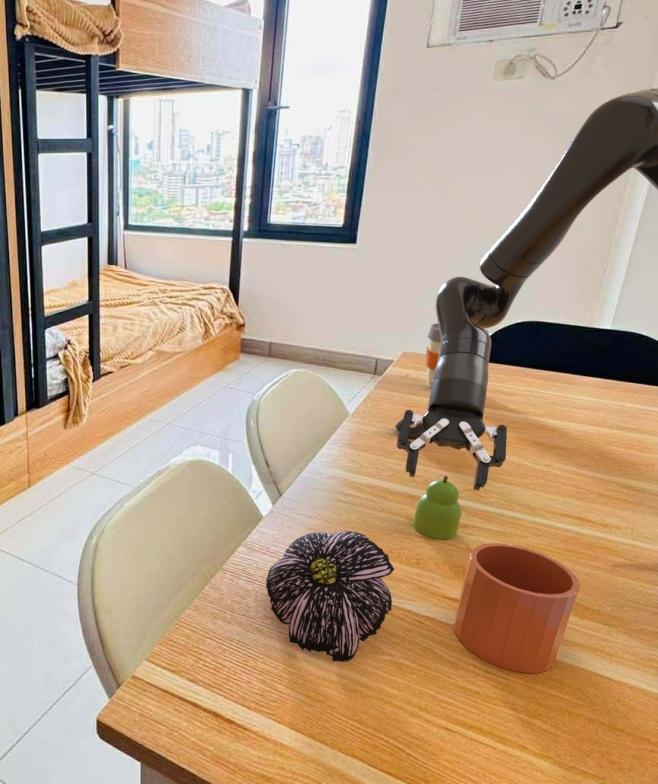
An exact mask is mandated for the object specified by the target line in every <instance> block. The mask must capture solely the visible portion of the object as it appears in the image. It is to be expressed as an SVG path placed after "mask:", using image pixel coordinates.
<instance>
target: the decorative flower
mask: <svg viewBox="0 0 658 784" xmlns="http://www.w3.org/2000/svg"><path fill="white" fill-rule="evenodd" d="M394 571H395V568H394V566H393V564H392V562H390V559H389V554H387V553H385V551H384V550H383V548H381V547H379V546H378V545H377V544H376V543H375V542H373V540H370V538H368V537H367V535H366V534H363V533H361V532H357V531H351V530H340V531H336V532H333V533H331V532H323V531H319V532H310V533H307V534H305V535H302V536H300V537H298V538H296V539H295V540H294V541H293V542H292V543H290V545H289V546H288V547H287V548H286V550H285V551H284V553H283V555H282V558H281V559H279V560H278V561H276V562H274V564H273V565H271V567H270V568H269V570H268V573H267V577H266V579H265V583H266V586H265V589H266V591H267V595H268V597H269V602H270V605H271V607H270V610H271V612H272V613H273V614H274V616H275V617H276V619H278V621H279V623H282V624H283V625H286V626H287V625H288V639H289V643H292V644H296V645H297V646H298V647H299V649H301V651H303V652H304V649H305V650H307V651H308V652H309V653H311V652H312V651H314V652H317V653H323V652H324V653H326V654H325V655H327V656H330V657H331V662H342V663H343V662H344V663H345V662H350V661H352V659H353V658H354V657H355V656H356V654H357V652H358V648H359V645H360V641H361V642H365V640H367V639H368V638H369V637H370V636H374V635H377V631H379V630H380V629H381V628H382V624H383V623H384V621H385V619H386V615H388V614H389V612H392V607H393V600H392V595H391V591H390V589H389V587H388V585H387V584H386V582H385V581H384V580H383V579H382V578H384V577H387V576H389V575H391V574H392V573H393V572H394Z"/></svg>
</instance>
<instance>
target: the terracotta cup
mask: <svg viewBox="0 0 658 784" xmlns="http://www.w3.org/2000/svg"><path fill="white" fill-rule="evenodd" d="M580 588H581V585H580V581H579V578H578V577H577V576H576V575H575V573H573V571H572V570H571V569H570V568H569V567H567V566H566V565H564V564H562V563H561V562H560V561H558V560H556V559H555V558H553V557H551V556H549V555H546V554H544V553H542V552H539V551H536V550H534V549H531V548H527V547H524V546H519V545H515V544H510V543H500V542H489V543H483V544H479V545H477V546H475V547H473V549H472V550H471V551H470V554H469V558H468V562H467V566H466V569H465V575H464V577H463V581H462V585H461V590H460V593H459V596H458V597H459V598H458V602H457V606H456V610H455V614H454V618H453V619H454V621H453V624H452V625H453V631H454V633H455V636H456V637H457V639H458V640H459V642H461V644H462V645H463V646H464V647H465V648H466V649H468V650H469V651H470V652H471V653H473V654H474V655H475V656H477V657H479V658H480V659H483V660H484V661H486V662H487V663H489V664H491V665H495V666H497V667H500V668H502V669H505V670H509V671H512V672H517V673H522V674H523V673H524V674H538V673H539V674H540V673H544V672H547V671H549V670H550V669H552V668H553V667H554V666H555V664H556V661H557V658H558V656H559V652H560V649H561V646H562V644H563V641H564V637H565V635H566V632H567V629H568V625H569V622H570V620H571V619H570V618H571V616H572V613H573V610H574V607H575V604H576V600H577V597H578V595H579V591H580V590H581V589H580Z"/></svg>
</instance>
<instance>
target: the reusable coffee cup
mask: <svg viewBox="0 0 658 784" xmlns="http://www.w3.org/2000/svg"><path fill="white" fill-rule="evenodd" d="M482 329H483V330H485V331H486V332H487V333H488V334H489V330H488V329H487V328H485V329H484V328H482ZM427 338H428V346H427V347H426V353H425V354H426V355H425V366H426V367H427V369H426V371H427V372H426V386H427V387H428V388H429V387H430V389H431V387H432V380H433V375H434V371H435V368H436V366H437V362H438V357H439V351H440V346H441V337H440V331H439V325H438V322H437V323H433V324H431V325H430V328H429V331H428V335H427Z"/></svg>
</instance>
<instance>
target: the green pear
mask: <svg viewBox="0 0 658 784" xmlns="http://www.w3.org/2000/svg"><path fill="white" fill-rule="evenodd" d="M448 479H449V477H448V475H444V476H443V479H437V480H434V481H432V482H431V483H429V484H428V486H427V488H426V490H425V494H423V495H422V496H421V497H420V498H419V499H418V501H417V503H416V507H415V513H414V518H413V521H412V522H413V523H412V525H413V528H414V529H415V530H416V531H417V532H419V533H421V534H423V535H424V536H427V537H429V538H433V539H437V540H451V539H454V538H456V536H457V533H458V529H459V525H460V521H461V516H462V509H461V506H460V503H459V502H458V500H459V496H460V495H459V491H458V489H457V487H456V486H455V484H453V483H452V482H451V481H448Z"/></svg>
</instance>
